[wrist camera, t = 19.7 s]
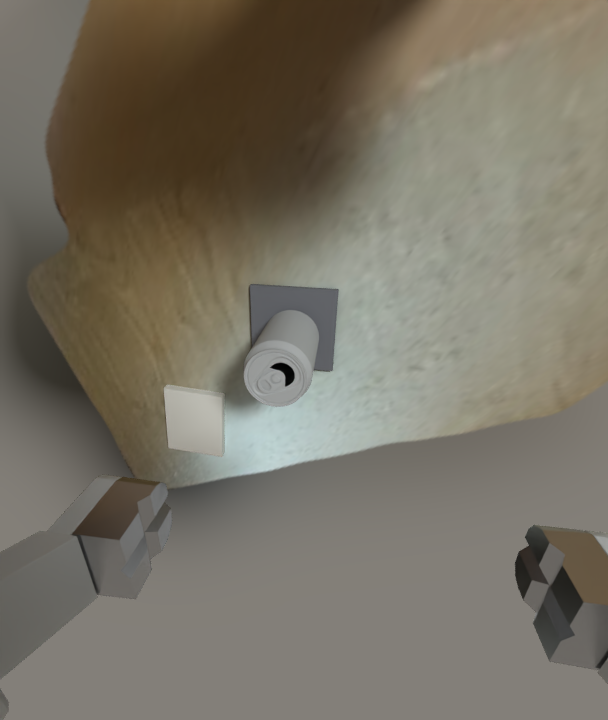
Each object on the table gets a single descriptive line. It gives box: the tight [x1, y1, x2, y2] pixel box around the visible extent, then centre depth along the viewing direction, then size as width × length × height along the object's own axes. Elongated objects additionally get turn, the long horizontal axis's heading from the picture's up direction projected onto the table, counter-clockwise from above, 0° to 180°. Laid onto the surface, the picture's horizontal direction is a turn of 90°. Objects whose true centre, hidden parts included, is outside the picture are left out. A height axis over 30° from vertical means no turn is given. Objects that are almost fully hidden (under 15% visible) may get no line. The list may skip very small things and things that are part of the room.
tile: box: [164, 385, 225, 457], centre depth 50 cm, size 2×8×10 cm
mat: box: [250, 284, 338, 371], centre depth 43 cm, size 10×10×1 cm
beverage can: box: [243, 310, 319, 407], centre depth 37 cm, size 6×6×12 cm
